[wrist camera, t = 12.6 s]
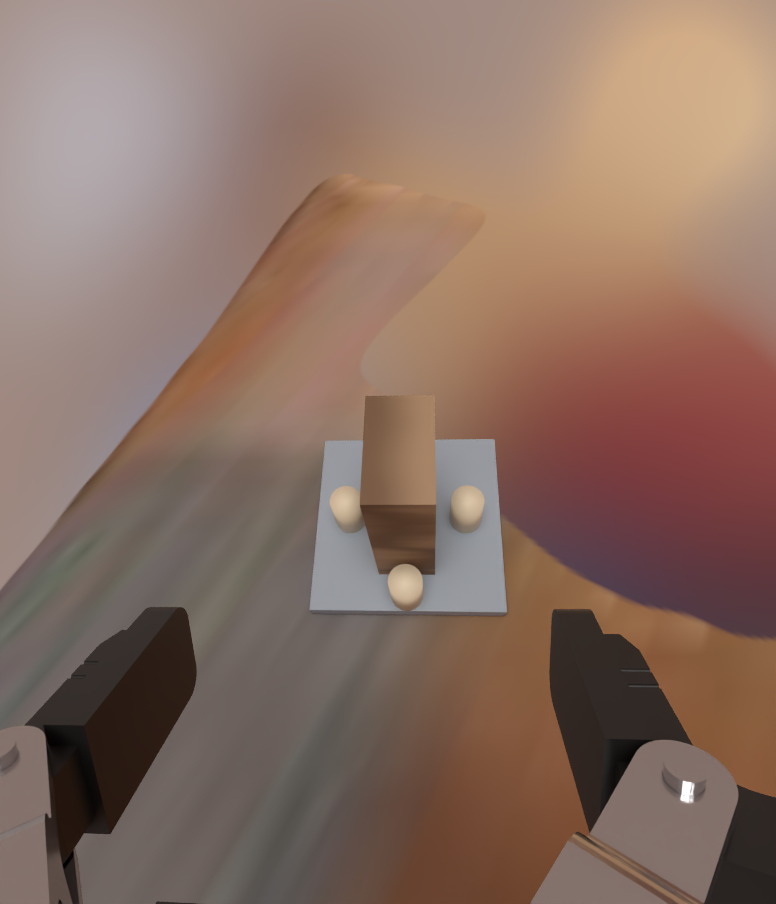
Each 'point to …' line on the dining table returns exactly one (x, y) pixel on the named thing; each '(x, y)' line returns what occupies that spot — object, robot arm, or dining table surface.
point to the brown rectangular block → (400, 481)
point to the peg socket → (456, 548)
